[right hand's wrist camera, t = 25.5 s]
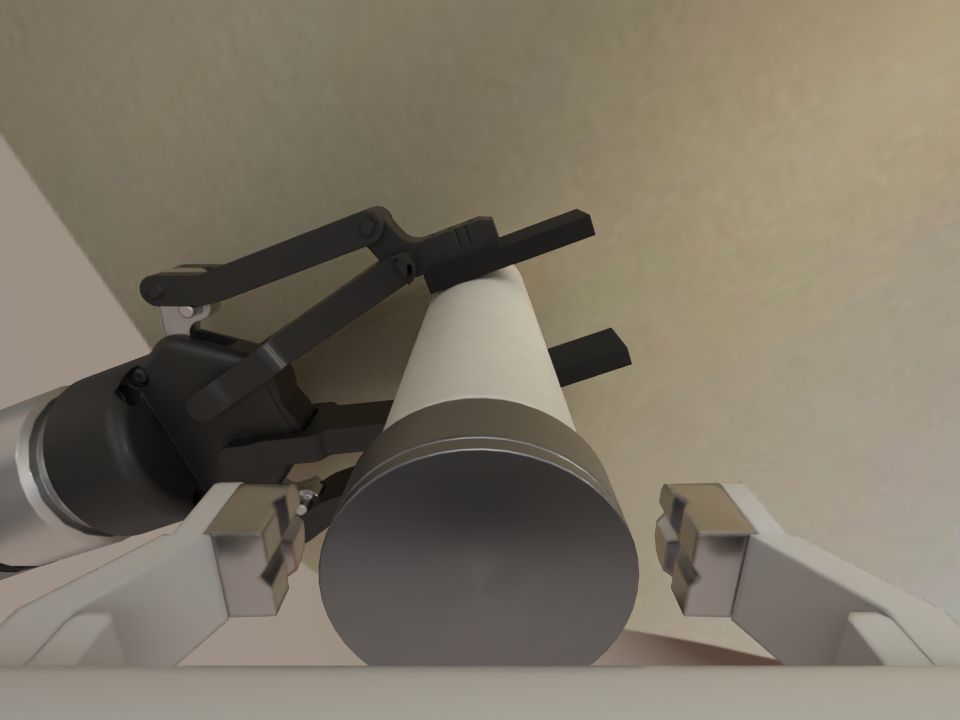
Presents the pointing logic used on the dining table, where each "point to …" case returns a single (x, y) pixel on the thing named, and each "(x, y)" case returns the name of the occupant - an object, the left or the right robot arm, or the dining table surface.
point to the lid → (478, 543)
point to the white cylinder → (481, 350)
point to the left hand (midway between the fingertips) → (602, 285)
